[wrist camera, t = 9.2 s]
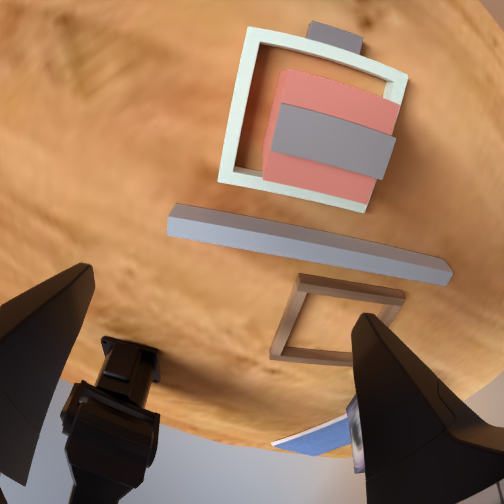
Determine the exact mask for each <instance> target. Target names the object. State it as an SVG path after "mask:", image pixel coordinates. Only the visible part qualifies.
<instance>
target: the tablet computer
mask: <svg viewBox="0 0 504 504" xmlns="http://www.w3.org/2000/svg"><path fill="white" fill-rule="evenodd" d="M350 443H351V438H350V431H349V423H348V417H347V413H345V414H343V415H341V416H339V417H337V418H334V419H332V420H330V421H328V422H325V423H323V424H320V425H318V426H315V427H313V428H310V429H308V430H305V431H303V432H300V433H297V434H295V435H292V436H289V437H286V438H283V439H280V440H277V441H274V442H272V443H271V444H272V446H274V447H277V448H281V449H285V450H289V451H293V452H297V453H301V454H305V455H310V456H317V455H320V454H323V453H326V452H329V451H332V450H334V449H337V448H340V447H343V446H345V445H348V444H350Z"/></svg>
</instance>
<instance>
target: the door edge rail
mask: <svg viewBox="0 0 504 504" xmlns="http://www.w3.org/2000/svg"><path fill="white" fill-rule="evenodd" d="M167 235H168V236H173V237H179V238H184V239H190V240H195V241H201V242H206V243H212V244H217V245H223V246H228V247H234V248H239V249H245V250H250V251H256V252H261V253H267V254H272V255H277V256H283V257H288V258H294V259H299V260H305V261H310V262H316V263H321V264H327V265H332V266H338V267H343V268H348V269H354V270H359V271H365V272H370V273H376V274H381V275H386V276H392V277H397V278H403V279H408V280H414V281H419V282H424V283H430V284H435V285H441V286H446V285H447V284H448V282H449V281H450V279H451V277H452V276H453V274H454V273H453V271H452V270H451V268H450V267H449V266H448V264H447V263H446V262H445V260H444V259H441V258H437V257H433V256H429V255H425V254H421V253H417V252H413V251H408V250H404V249H400V248H396V247H392V246H387V245H383V244H379V243H374V242H370V241H366V240H361V239H357V238H352V237H348V236H343V235H338V234H334V233H329V232H324V231H320V230H315V229H310V228H305V227H300V226H296V225H291V224H286V223H281V222H276V221H270V220H265V219H260V218H255V217H250V216H244V215H239V214H234V213H228V212H223V211H217V210H212V209H206V208H200V207H195V206H189V205H183V204H177V203H176V204H175V206H174V207H173V209H172V211H171V212H170V214H169V216H168V225H167Z"/></svg>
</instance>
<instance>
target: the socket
mask: <svg viewBox="0 0 504 504" xmlns="http://www.w3.org/2000/svg"><path fill="white" fill-rule="evenodd" d="M362 42H363V37H361V36H359V35H356V34H353V33H350V32H347V31H344V30H341V29H338V28H335V27H332V26H329V25H325V24H322V23H318V22H315V21H312V22H311V23H310V24H309V27H308V31H307V35H306V38H302V37H298V36H294V35H290V34H286V33H281V32H276V31H271V30H266V29H261V28H255V27H249V26H248V29H247V33H246V37H245V42H244V46H243V51H242V55H241V60H240V65H239V69H238V74H237V79H236V84H235V88H234V93H233V98H232V104H231V109H230V114H229V119H228V124H227V130H226V135H225V141H224V146H223V152H222V158H221V164H220V169H219V175H218V182H221V183H226V184H232V185H237V186H243V187H248V188H253V189H258V190H263V191H268V192H273V193H278V194H283V195H287V196H292V197H297V198H301V199H306V200H310V201H315V202H319V203H323V204H327V205H332V206H336V207H340V208H344V209H348V210H352V211H356V212H360V213H365V210H366V208H367V205H368V203H367V205H366V204H362V203H358V202H355V201H351V200H347V199H343V198H339V197H335V196H331V195H327V194H323V193H319V192H315V191H310V190H306V189H302V188H297V187H293V186H288V185H284V184H279V183H274V182H270V181H265V180H263V172H262V171H257V170H252V169H246V168H241V167H236V166H234V165H235V160H236V155H237V150H238V145H239V140H240V135H241V130H242V125H243V120H244V115H245V110H246V105H247V100H248V96H249V91H250V86H251V81H252V77H253V72H254V68H255V63H256V59H257V54H258V50H259V46H260V44H263V45H268V46H273V47H278V48H283V49H287V50H291V51H295V52H300V53H303V54H307V55H311V56H315V57H318V58H322V59H325V60H329V61H332V62H335V63H338V64H341V65H344V66H347V67H350V68H353V69H356V70H359V71H362V72H365V73H367V74H370V75H373V76H375V77H378V78H380V79H383V80H385V81H387V82H386V86H385V90H384V94H383V97H382V98H385V99H387V100H390V101H392V102H394V103H397V104H399V105H400V106H401V103H402V99H403V95H404V92H405V88H406V84H407V80H408V76H409V75H407V74H405V73H402V72H400V71H398V70H396V69H393V68H391V67H389V66H386V65H384V64H382V63H379V62H377V61H374V60H371V59H369V58H366V57H364V56H361V55H359V54H360V50H361V46H362ZM399 110H400V108H399ZM398 113H399V111H398ZM397 116H398V115H397ZM396 120H397V118H396ZM395 123H396V121H395ZM394 126H395V125H394ZM393 130H394V128H393ZM392 133H393V131H392ZM391 136H392V134H391ZM376 181H377V179H376ZM375 183H376V182H375ZM374 186H375V184H374ZM373 189H374V187H373ZM372 192H373V190H372ZM371 194H372V193H371ZM370 197H371V195H370ZM369 200H370V198H369ZM368 202H369V201H368Z"/></svg>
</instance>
